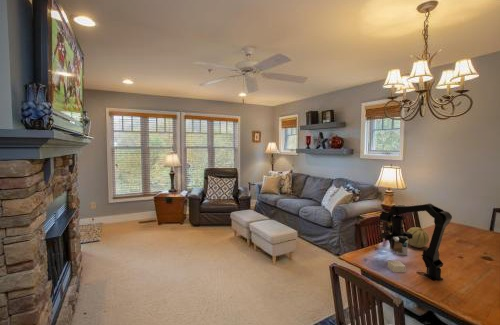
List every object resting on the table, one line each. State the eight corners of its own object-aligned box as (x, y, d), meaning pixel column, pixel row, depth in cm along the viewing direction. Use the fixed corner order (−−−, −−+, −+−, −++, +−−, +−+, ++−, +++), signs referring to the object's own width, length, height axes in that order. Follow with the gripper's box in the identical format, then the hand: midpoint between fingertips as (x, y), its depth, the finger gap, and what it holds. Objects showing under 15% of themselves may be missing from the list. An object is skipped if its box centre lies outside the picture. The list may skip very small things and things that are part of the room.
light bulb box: (407, 255, 174) (408, 240, 173) (396, 254, 175) (397, 239, 175) (401, 249, 185) (402, 234, 184) (391, 248, 186) (392, 234, 185)
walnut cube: (402, 251, 162) (402, 243, 162) (394, 251, 162) (395, 244, 161) (396, 248, 167) (397, 240, 167) (389, 248, 167) (390, 241, 166)
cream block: (405, 272, 152) (405, 266, 152) (393, 272, 152) (394, 266, 151) (398, 266, 159) (398, 260, 159) (387, 267, 159) (387, 260, 158)
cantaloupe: (408, 241, 199) (408, 222, 198) (430, 246, 189) (431, 227, 188) (402, 246, 189) (403, 227, 188) (426, 252, 179) (427, 232, 177)
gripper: (401, 220, 172) (400, 242, 173) (375, 221, 170) (375, 244, 171) (413, 225, 161) (412, 249, 162) (386, 227, 159) (385, 251, 160)
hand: (395, 248), depth 164 cm, fingers closed on walnut cube, 5 cm apart
